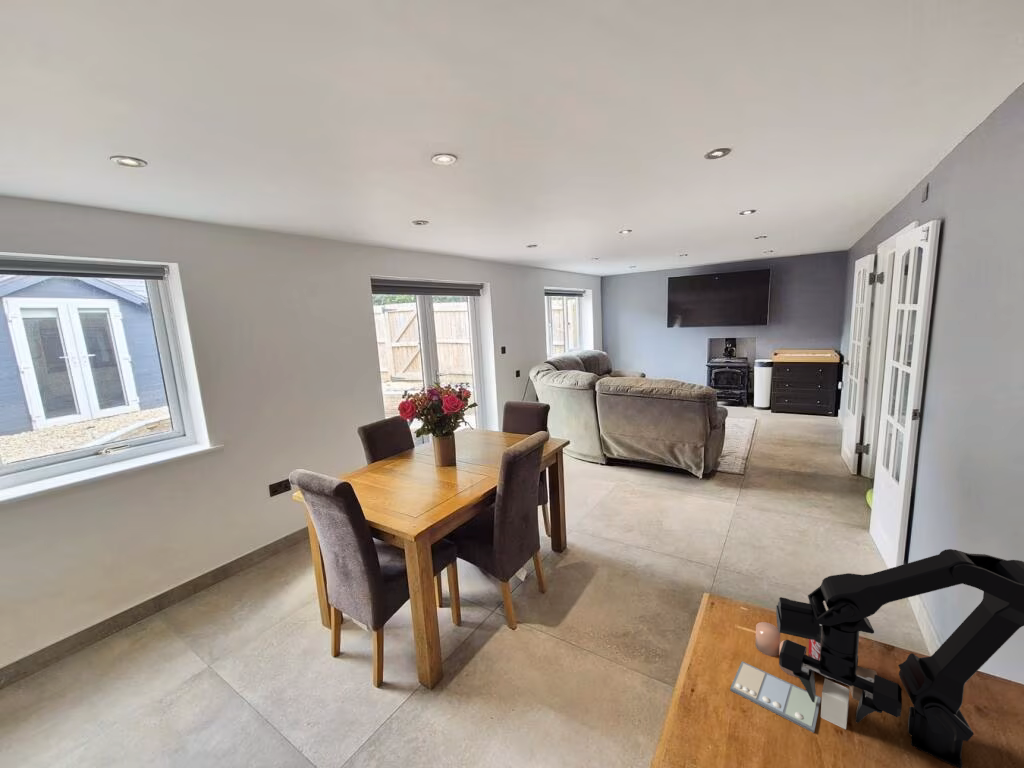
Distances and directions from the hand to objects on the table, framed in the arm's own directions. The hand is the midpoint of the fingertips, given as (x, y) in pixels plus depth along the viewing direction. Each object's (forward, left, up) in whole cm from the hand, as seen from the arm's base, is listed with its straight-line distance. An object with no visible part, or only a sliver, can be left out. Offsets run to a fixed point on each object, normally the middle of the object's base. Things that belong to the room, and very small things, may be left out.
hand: (834, 710), depth 84 cm
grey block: (0, 0, -1) cm, 1 cm away
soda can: (+2, -12, -2) cm, 12 cm away
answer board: (+10, +2, -1) cm, 10 cm away
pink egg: (+8, -8, -1) cm, 12 cm away
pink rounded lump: (+14, -11, -1) cm, 18 cm away
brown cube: (-4, -10, -1) cm, 10 cm away
